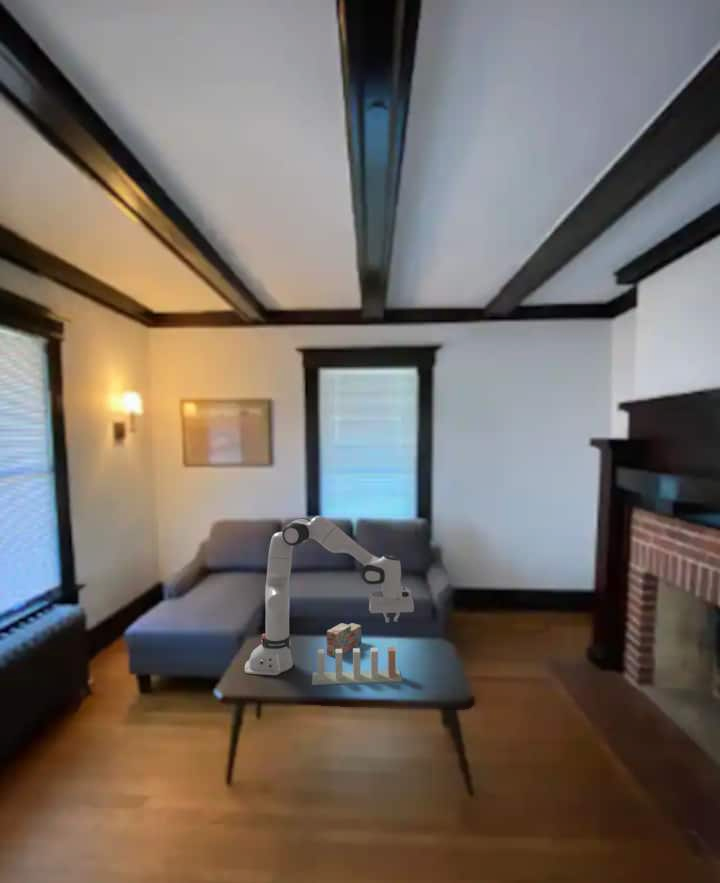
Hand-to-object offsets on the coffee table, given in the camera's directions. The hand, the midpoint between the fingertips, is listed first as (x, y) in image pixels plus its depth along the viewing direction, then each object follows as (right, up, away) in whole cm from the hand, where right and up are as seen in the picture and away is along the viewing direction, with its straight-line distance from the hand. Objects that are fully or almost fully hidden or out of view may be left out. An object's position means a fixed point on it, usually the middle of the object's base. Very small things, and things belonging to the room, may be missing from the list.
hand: (391, 621), depth 216 cm
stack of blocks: (-22, -25, +29) cm, 44 cm away
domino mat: (-16, -25, 0) cm, 30 cm away
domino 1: (-32, -25, -1) cm, 40 cm away
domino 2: (-24, -25, -1) cm, 34 cm away
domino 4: (-8, -25, 0) cm, 26 cm away
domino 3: (-16, -25, 0) cm, 29 cm away
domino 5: (0, -25, 0) cm, 25 cm away
